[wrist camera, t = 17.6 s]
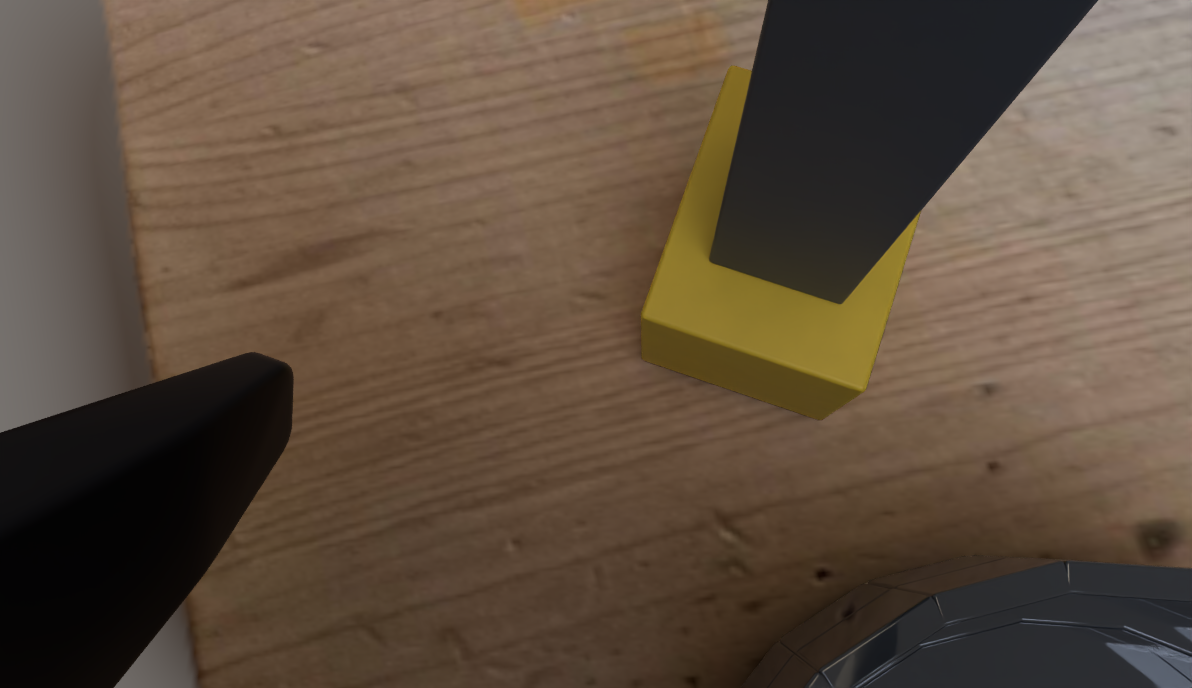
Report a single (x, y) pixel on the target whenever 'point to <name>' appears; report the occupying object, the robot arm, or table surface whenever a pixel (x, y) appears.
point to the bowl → (996, 629)
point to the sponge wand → (830, 185)
